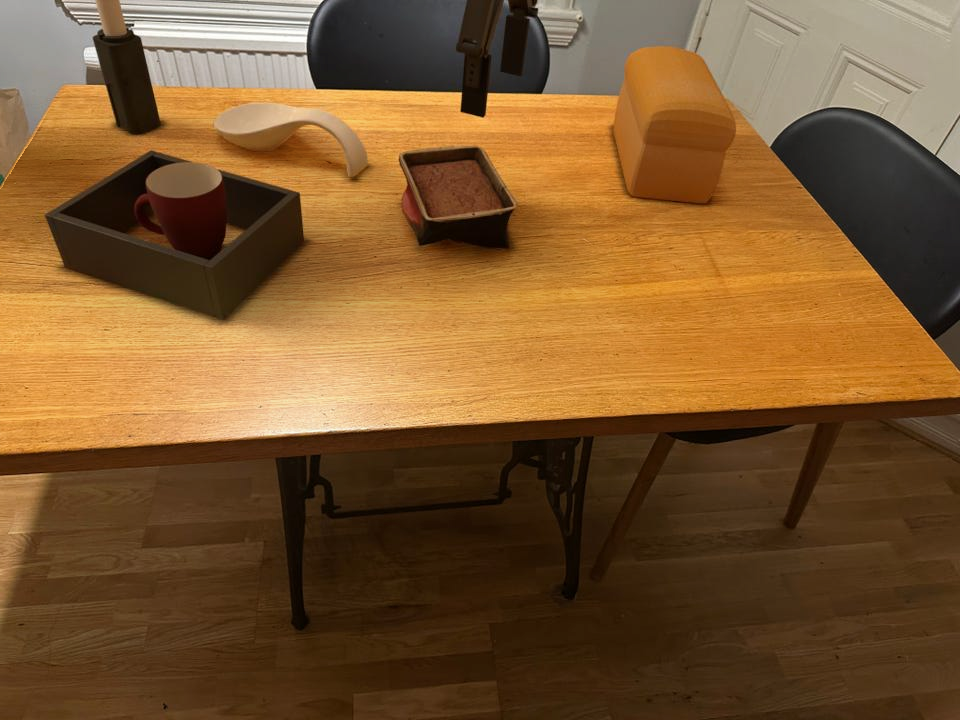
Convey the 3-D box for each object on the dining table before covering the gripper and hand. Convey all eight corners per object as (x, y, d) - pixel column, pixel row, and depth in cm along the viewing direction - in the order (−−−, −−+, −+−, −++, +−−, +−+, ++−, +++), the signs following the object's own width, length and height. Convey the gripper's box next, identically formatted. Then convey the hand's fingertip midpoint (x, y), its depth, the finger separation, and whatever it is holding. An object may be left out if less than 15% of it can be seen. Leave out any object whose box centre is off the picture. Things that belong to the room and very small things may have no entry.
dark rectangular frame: (64, 267, 79) (43, 214, 75) (163, 199, 91) (150, 149, 87) (223, 320, 75) (212, 267, 71) (304, 241, 87) (300, 192, 83)
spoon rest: (200, 147, 102) (191, 99, 97) (250, 118, 110) (243, 72, 106) (341, 190, 97) (338, 142, 92) (382, 156, 105) (381, 110, 100)
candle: (113, 124, 105) (60, -65, 88) (143, 114, 108) (97, -71, 91) (134, 135, 103) (84, -56, 86) (164, 125, 106) (121, -62, 89)
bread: (712, 205, 104) (747, 107, 93) (626, 196, 103) (652, 97, 93) (683, 132, 121) (710, 43, 111) (610, 125, 121) (630, 35, 111)
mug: (134, 272, 80) (110, 195, 73) (153, 233, 86) (132, 159, 79) (229, 275, 81) (215, 199, 74) (241, 236, 87) (229, 163, 80)
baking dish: (406, 274, 88) (416, 213, 80) (391, 184, 98) (398, 122, 90) (515, 275, 92) (534, 216, 84) (489, 188, 102) (504, 129, 94)
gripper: (513, -98, 58) (487, 142, 72) (584, -134, 75) (552, 65, 90) (429, -113, 59) (421, 125, 74) (518, -145, 77) (497, 52, 91)
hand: (493, 92), depth 82 cm, fingers open, 13 cm apart
